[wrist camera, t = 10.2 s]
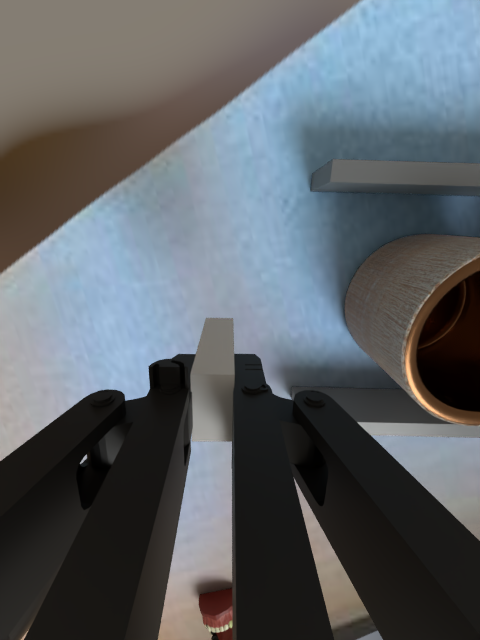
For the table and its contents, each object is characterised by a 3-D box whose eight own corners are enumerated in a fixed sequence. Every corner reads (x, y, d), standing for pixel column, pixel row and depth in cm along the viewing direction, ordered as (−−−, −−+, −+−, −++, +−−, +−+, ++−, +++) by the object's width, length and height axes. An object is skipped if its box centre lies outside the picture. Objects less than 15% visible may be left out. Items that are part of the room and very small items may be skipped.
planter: (452, 207, 22) (600, 195, 13) (484, 325, 25) (623, 382, 16) (321, 272, 24) (372, 302, 15) (366, 376, 27) (431, 454, 18)
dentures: (237, 623, 32) (256, 662, 34) (239, 578, 36) (256, 616, 38) (189, 629, 32) (211, 667, 35) (196, 584, 36) (215, 621, 39)
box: (291, 397, 27) (301, 433, 23) (312, 173, 21) (332, 159, 17) (454, 401, 28) (498, 438, 23) (520, 179, 22) (599, 167, 17)
